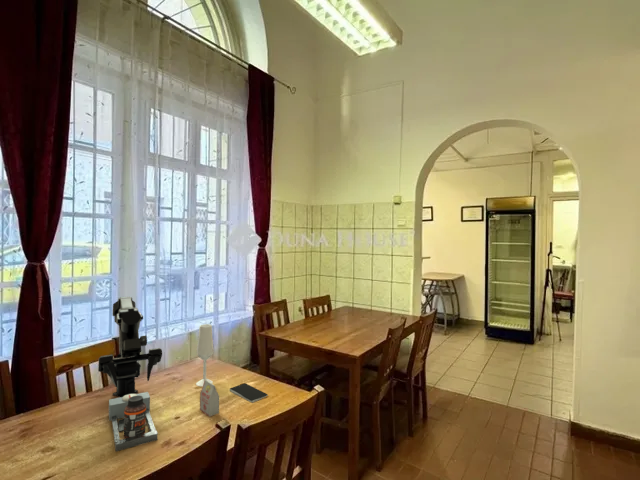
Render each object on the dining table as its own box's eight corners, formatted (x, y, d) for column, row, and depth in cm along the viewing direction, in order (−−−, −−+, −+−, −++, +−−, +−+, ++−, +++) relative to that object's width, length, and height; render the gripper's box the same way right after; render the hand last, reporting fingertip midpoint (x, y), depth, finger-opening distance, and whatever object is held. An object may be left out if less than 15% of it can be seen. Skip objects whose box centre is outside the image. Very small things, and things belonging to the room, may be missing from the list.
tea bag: (209, 406, 127) (210, 378, 127) (218, 413, 122) (219, 384, 122) (199, 409, 124) (200, 381, 124) (209, 416, 119) (209, 387, 119)
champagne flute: (196, 380, 149) (197, 324, 149) (212, 379, 151) (213, 323, 151) (195, 387, 143) (196, 328, 143) (213, 385, 145) (214, 327, 145)
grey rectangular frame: (111, 421, 115) (111, 414, 115) (148, 412, 121) (148, 406, 121) (115, 451, 99) (115, 444, 99) (157, 440, 105) (157, 433, 105)
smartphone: (251, 401, 130) (228, 388, 140) (251, 404, 130) (228, 391, 140) (268, 394, 136) (245, 382, 146) (268, 397, 136) (245, 385, 146)
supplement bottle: (136, 441, 104) (137, 403, 104) (118, 439, 105) (119, 401, 105) (149, 431, 110) (150, 394, 110) (133, 428, 111) (133, 392, 111)
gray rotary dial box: (108, 414, 120) (109, 397, 120) (147, 405, 126) (147, 389, 126) (109, 420, 115) (109, 403, 115) (149, 411, 122) (150, 394, 122)
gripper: (99, 331, 113) (99, 377, 104) (161, 324, 124) (167, 365, 114) (98, 349, 120) (98, 394, 111) (157, 341, 130) (162, 381, 121)
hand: (132, 383), depth 114 cm, fingers open, 9 cm apart
